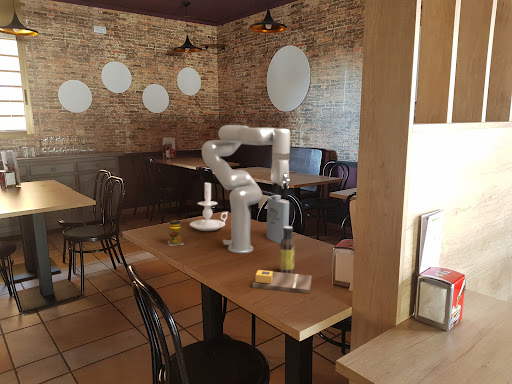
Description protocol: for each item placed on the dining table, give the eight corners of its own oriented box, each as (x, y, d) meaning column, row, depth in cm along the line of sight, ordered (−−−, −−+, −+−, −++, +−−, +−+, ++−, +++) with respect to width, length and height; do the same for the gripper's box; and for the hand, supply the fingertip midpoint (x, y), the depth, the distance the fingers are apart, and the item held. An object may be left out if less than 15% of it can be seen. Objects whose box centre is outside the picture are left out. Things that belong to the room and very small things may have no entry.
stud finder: (255, 281, 152) (255, 274, 151) (258, 277, 157) (258, 269, 156) (270, 283, 151) (271, 275, 150) (272, 278, 155) (273, 271, 155)
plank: (252, 287, 151) (252, 283, 151) (259, 273, 165) (259, 270, 165) (309, 293, 147) (309, 289, 147) (311, 279, 161) (311, 275, 160)
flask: (264, 236, 217) (265, 192, 213) (271, 235, 220) (272, 191, 215) (281, 245, 203) (283, 198, 198) (288, 244, 205) (290, 197, 200)
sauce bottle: (295, 274, 165) (297, 229, 162) (281, 275, 164) (283, 229, 160) (291, 268, 171) (293, 224, 168) (277, 269, 170) (279, 225, 166)
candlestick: (237, 229, 231) (238, 182, 225) (201, 236, 215) (201, 186, 210) (218, 221, 246) (218, 177, 241) (183, 227, 231) (183, 181, 226)
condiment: (169, 246, 197) (169, 223, 195) (166, 241, 205) (166, 219, 203) (184, 244, 200) (184, 222, 198) (180, 240, 208) (180, 218, 205)
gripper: (265, 155, 177) (265, 192, 180) (280, 159, 161) (279, 199, 164) (280, 155, 180) (280, 191, 183) (297, 158, 164) (295, 198, 167)
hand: (279, 195), depth 174 cm, fingers open, 9 cm apart
